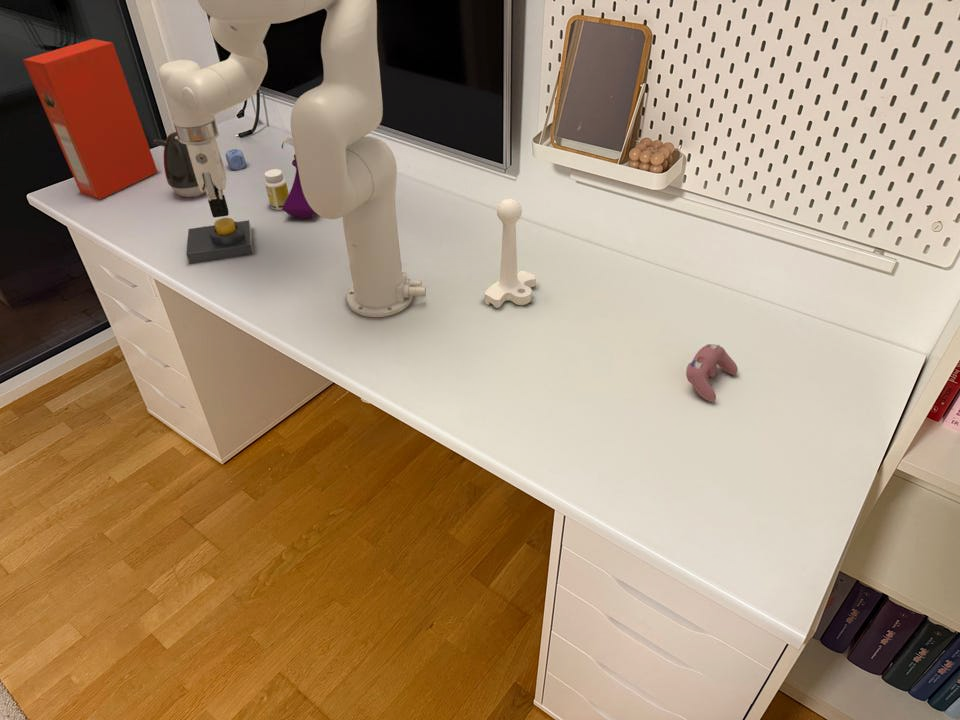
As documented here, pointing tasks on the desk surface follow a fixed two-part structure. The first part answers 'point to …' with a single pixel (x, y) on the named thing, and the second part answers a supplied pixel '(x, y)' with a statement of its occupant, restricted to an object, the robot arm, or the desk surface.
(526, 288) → the joystick
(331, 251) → the desk surface
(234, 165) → the decorative dice
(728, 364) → the video game controller
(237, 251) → the console
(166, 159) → the pump dispenser
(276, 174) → the supplement bottle
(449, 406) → the desk surface
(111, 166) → the file binder
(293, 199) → the perfume bottle
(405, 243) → the desk surface
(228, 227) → the button
